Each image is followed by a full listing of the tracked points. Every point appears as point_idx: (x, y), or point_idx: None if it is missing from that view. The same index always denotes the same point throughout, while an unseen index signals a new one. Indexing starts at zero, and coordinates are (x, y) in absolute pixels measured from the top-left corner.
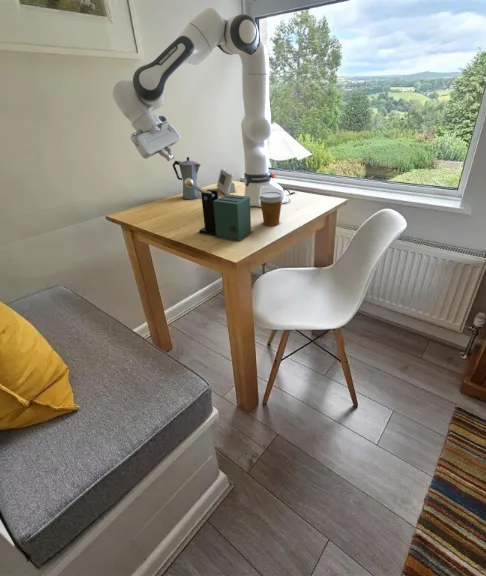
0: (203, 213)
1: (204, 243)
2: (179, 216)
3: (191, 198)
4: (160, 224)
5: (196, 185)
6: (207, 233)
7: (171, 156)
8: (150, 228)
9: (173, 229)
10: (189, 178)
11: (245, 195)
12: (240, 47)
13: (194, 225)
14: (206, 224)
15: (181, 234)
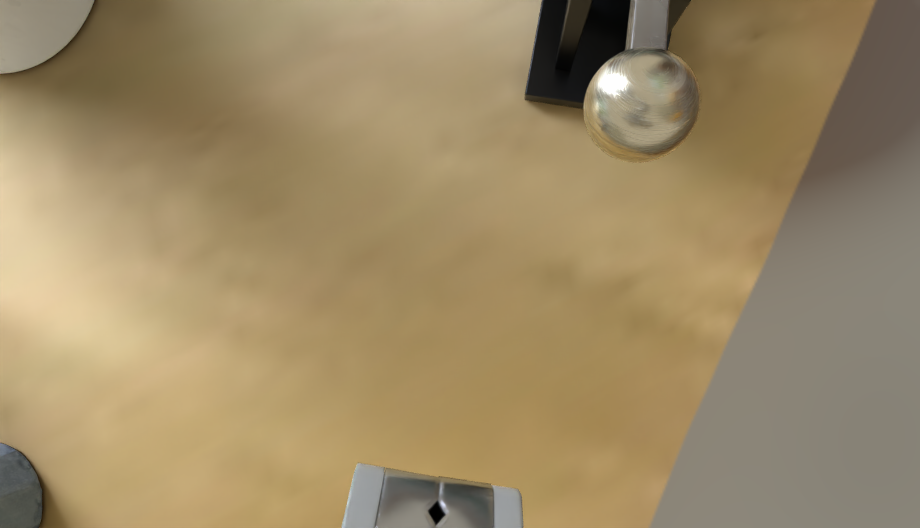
0: (667, 34)
1: (798, 17)
2: (397, 391)
3: (32, 477)
4: (567, 446)
5: (637, 17)
6: None
7: (428, 510)
8: (650, 475)
9: (631, 314)
10: (656, 71)
11: (4, 12)
12: None
13: (533, 211)
14: None
15: (698, 222)
